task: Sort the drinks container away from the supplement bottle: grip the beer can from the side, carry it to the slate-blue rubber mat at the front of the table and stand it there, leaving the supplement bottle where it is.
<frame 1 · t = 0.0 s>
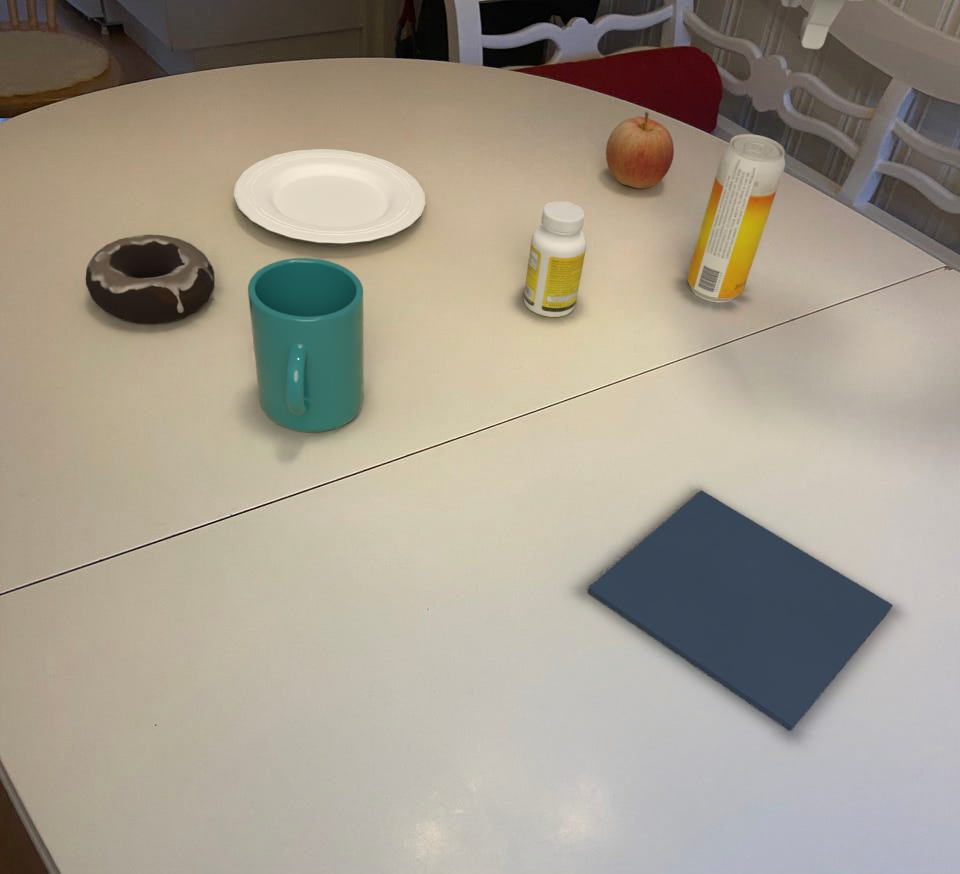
hand: (798, 24, 81), 26 cm above the table, tool pointing down, fingers open, 8 cm apart
beer can: (712, 291, 103), on the table
can mat: (740, 601, 74), on the table
donut: (155, 299, 93), on the table
cup: (309, 415, 84), on the table
apple: (632, 184, 117), on the table
supplement bottle: (548, 305, 98), on the table
plate: (331, 210, 106), on the table
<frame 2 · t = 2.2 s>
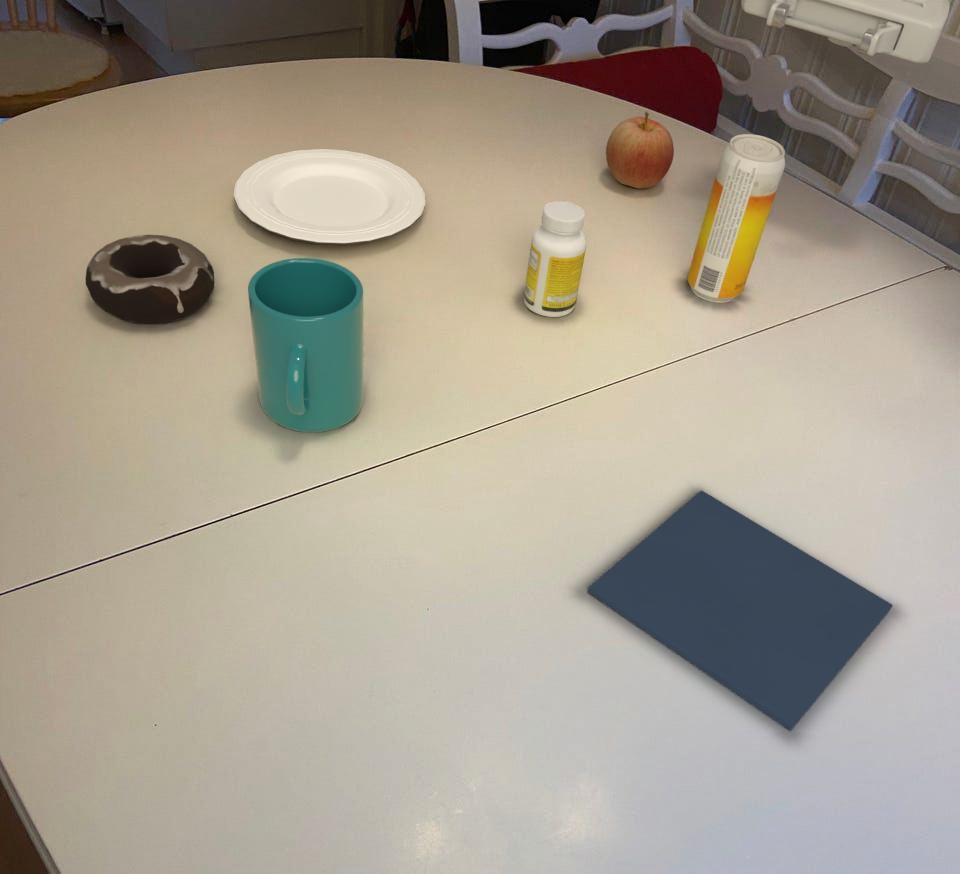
hand: (820, 31, 93), 22 cm above the table, tool horizontal, fingers open, 8 cm apart
nothing on the table moved.
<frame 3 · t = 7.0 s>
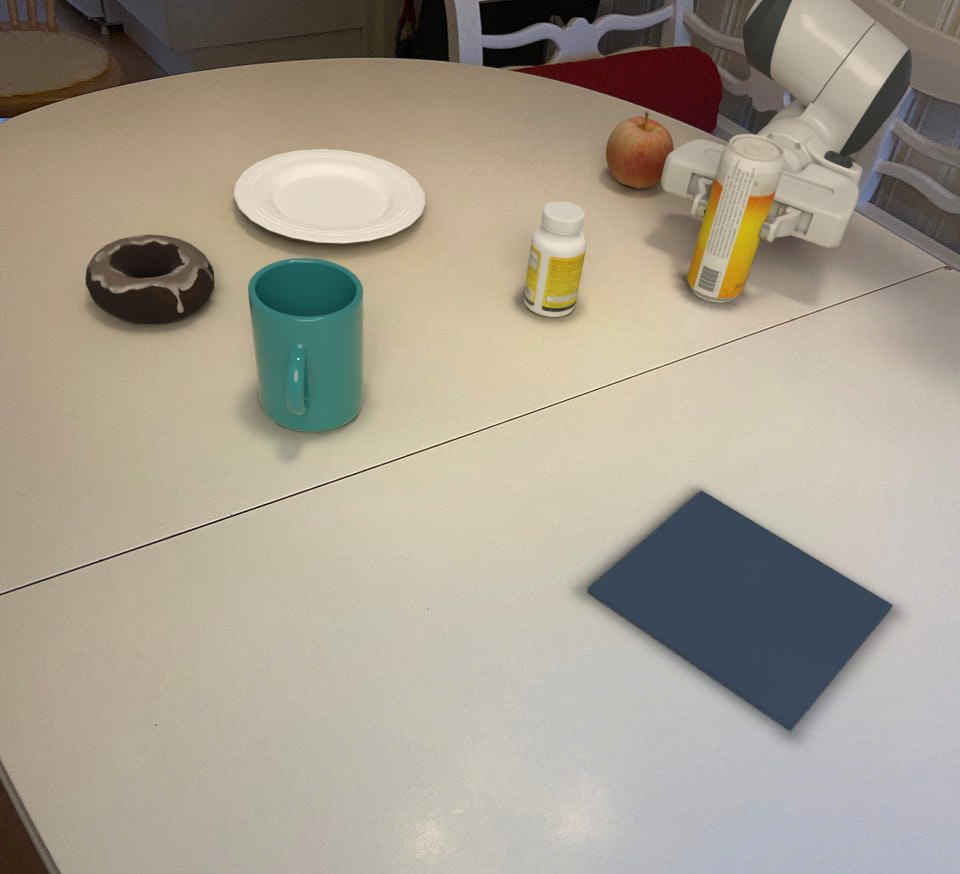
hand: (732, 221, 96), 8 cm above the table, tool horizontal, fingers closed on beer can, 6 cm apart
beer can: (712, 291, 103), on the table, touching gripper
everything else where it was.
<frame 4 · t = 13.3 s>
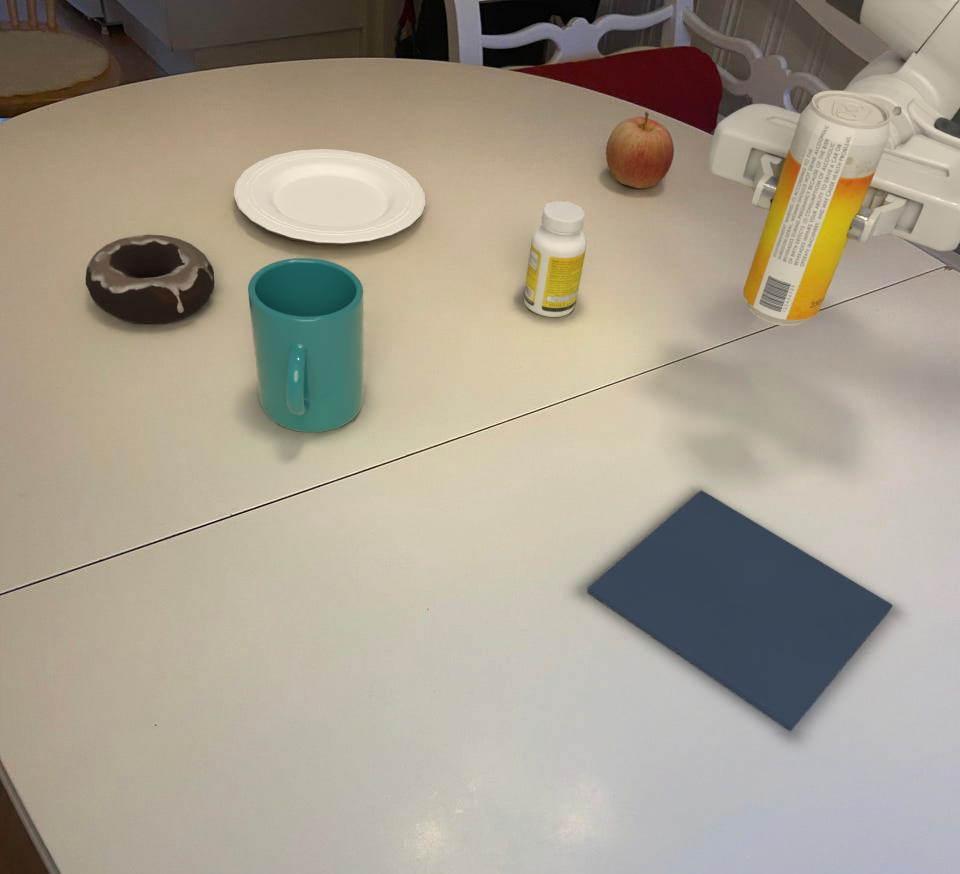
hand: (810, 214, 69), 22 cm above the table, tool horizontal, fingers closed on beer can, 6 cm apart
beer can: (777, 310, 76), point 14 cm above the table, touching gripper
everything else where it was.
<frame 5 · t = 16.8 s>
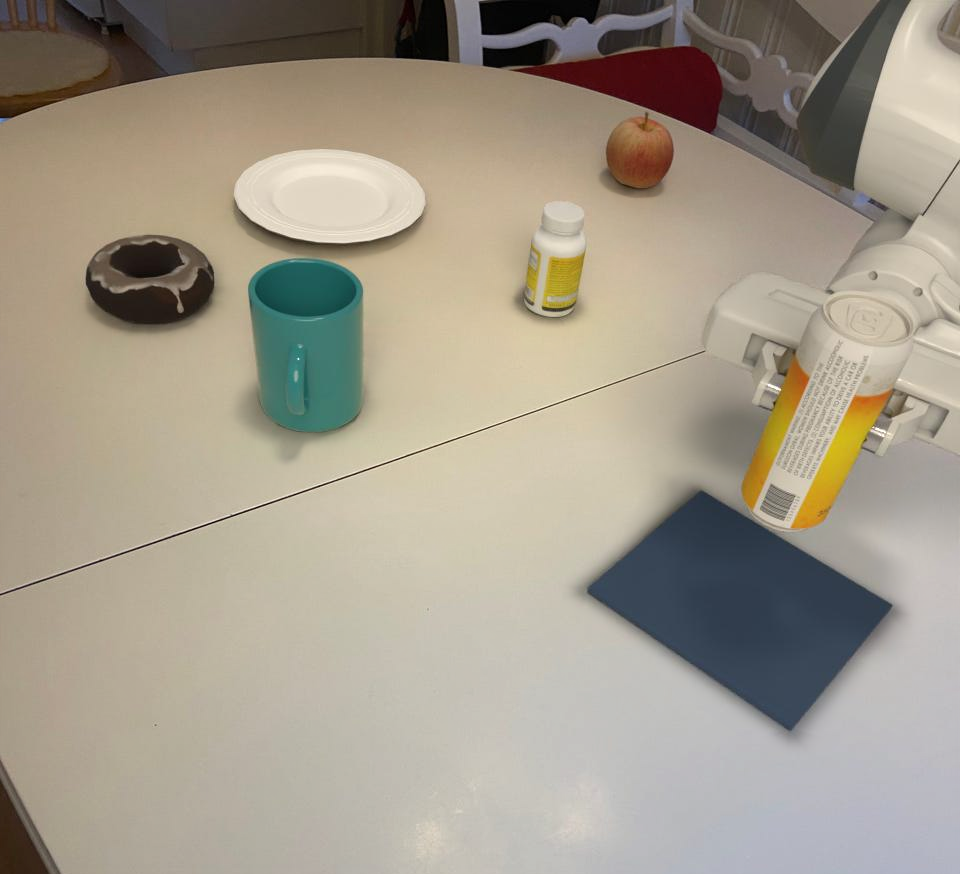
hand: (819, 421, 60), 18 cm above the table, tool horizontal, fingers closed on beer can, 6 cm apart
beer can: (779, 508, 67), point 10 cm above the table, touching gripper
everything else where it was.
when the fingers open (9 cm above the table, at t = 19.8 s): beer can stays where it is, resting on can mat.
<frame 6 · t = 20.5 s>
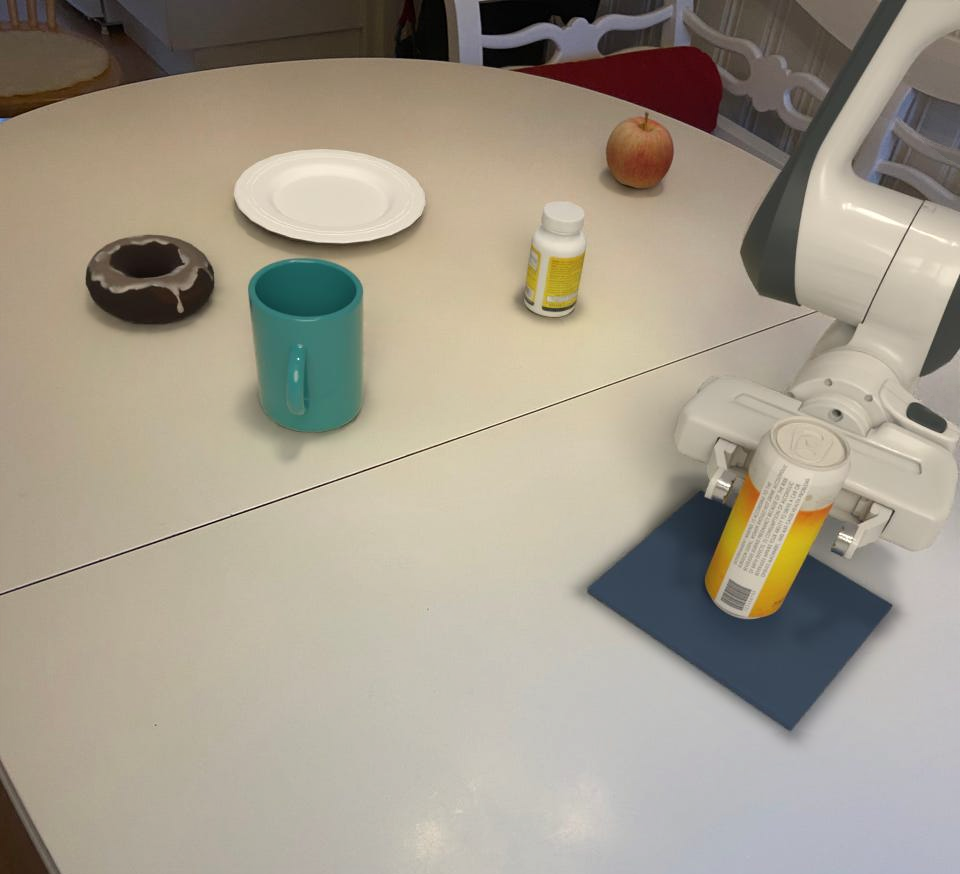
hand: (778, 521, 67), 9 cm above the table, tool horizontal, fingers open, 8 cm apart
beer can: (740, 596, 74), resting on can mat
everything else where it was.
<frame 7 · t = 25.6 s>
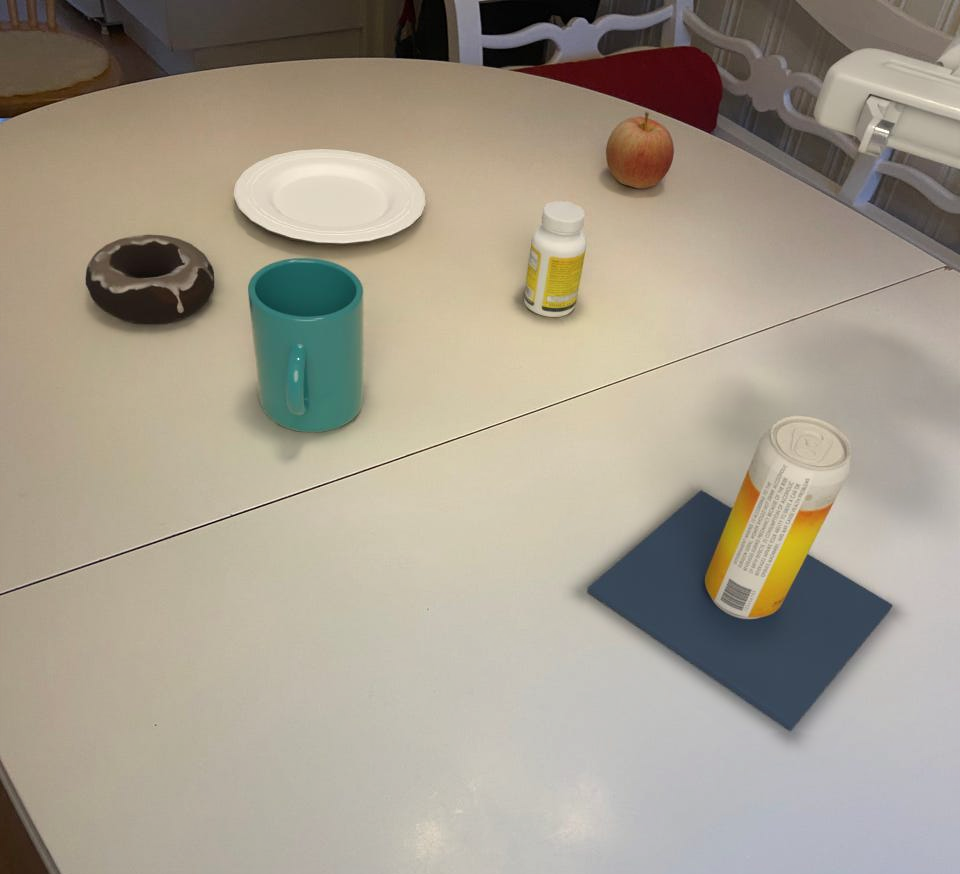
hand: (943, 165, 62), 28 cm above the table, tool horizontal, fingers open, 8 cm apart
nothing on the table moved.
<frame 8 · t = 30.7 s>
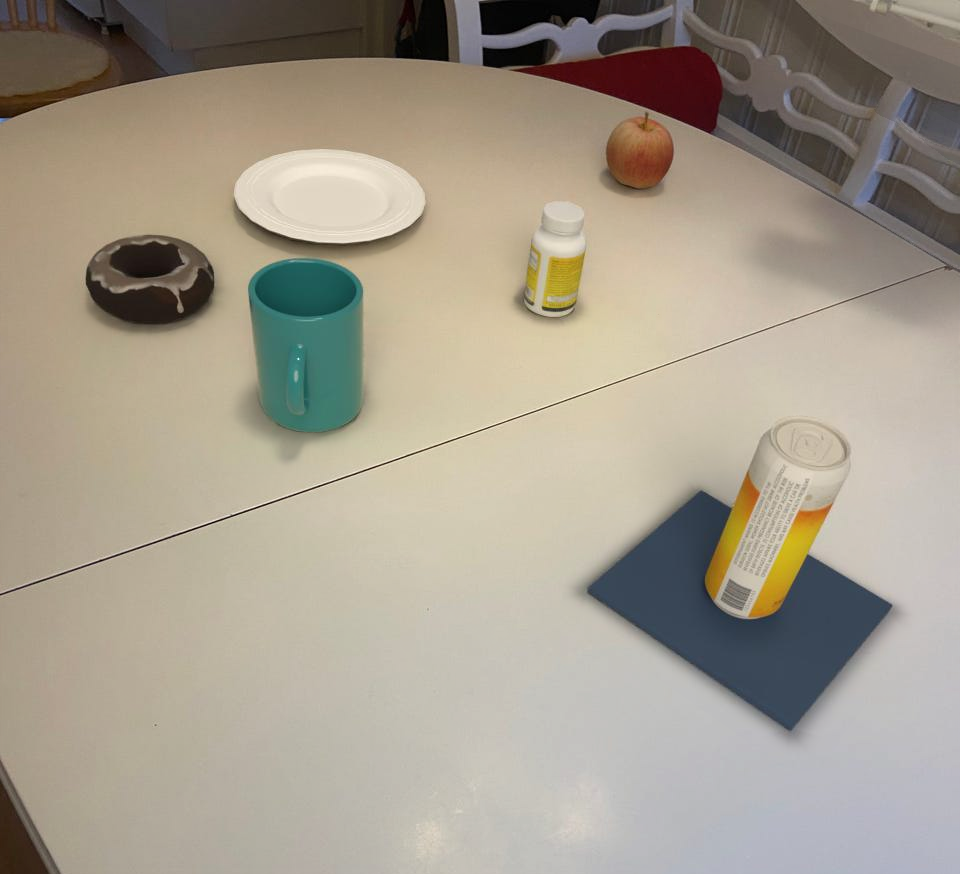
hand: (935, 17, 80), 28 cm above the table, tool horizontal, fingers open, 8 cm apart
nothing on the table moved.
at the end: beer can inside the target area on the can mat (0.2 cm from its centre), point 0.4 cm above the can mat's base; beer can tilted 0°; supplement bottle moved 0.2 cm from its start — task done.
